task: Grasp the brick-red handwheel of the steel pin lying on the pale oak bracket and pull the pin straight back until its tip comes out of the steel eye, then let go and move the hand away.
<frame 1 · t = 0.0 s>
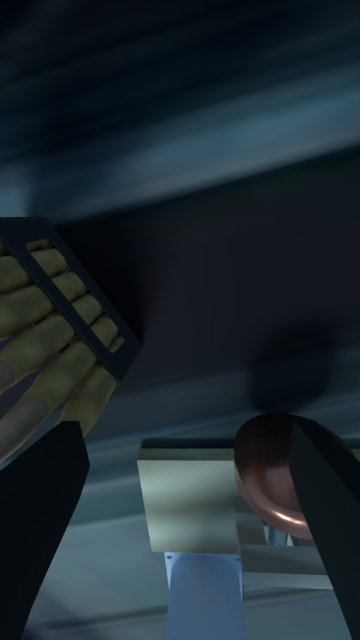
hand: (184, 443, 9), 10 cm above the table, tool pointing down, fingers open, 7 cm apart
eye bracket: (266, 491, 23), on the table
ammunition clip: (89, 292, 18), on the table, touching gripper
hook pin: (285, 518, 18), point 4 cm above the table, slide at 0.0 cm
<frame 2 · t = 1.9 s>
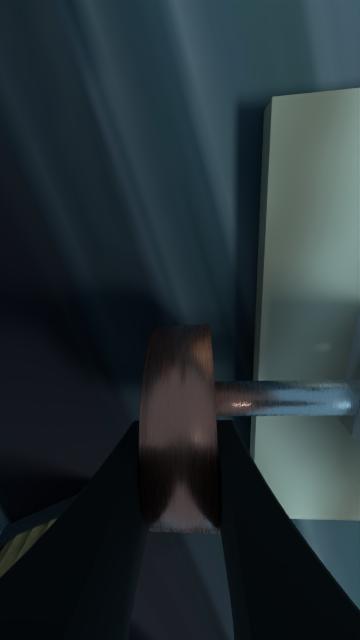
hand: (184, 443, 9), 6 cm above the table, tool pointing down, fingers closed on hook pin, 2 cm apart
eye bracket: (350, 355, 13), on the table
ammunition clip: (62, 509, 20), on the table
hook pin: (319, 414, 9), point 5 cm above the table, slide at 0.0 cm, touching gripper
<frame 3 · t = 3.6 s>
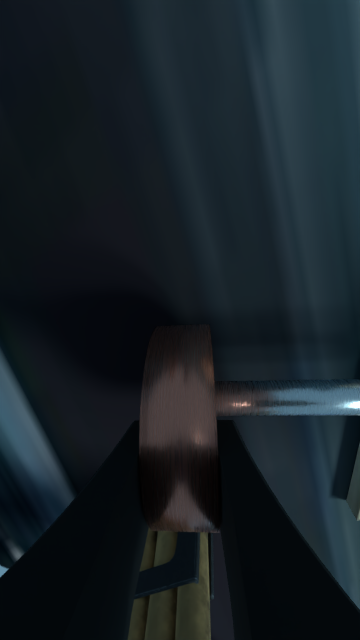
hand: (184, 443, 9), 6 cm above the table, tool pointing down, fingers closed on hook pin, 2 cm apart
ammunition clip: (144, 511, 19), on the table
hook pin: (319, 414, 9), point 5 cm above the table, slide at 6.5 cm, touching gripper
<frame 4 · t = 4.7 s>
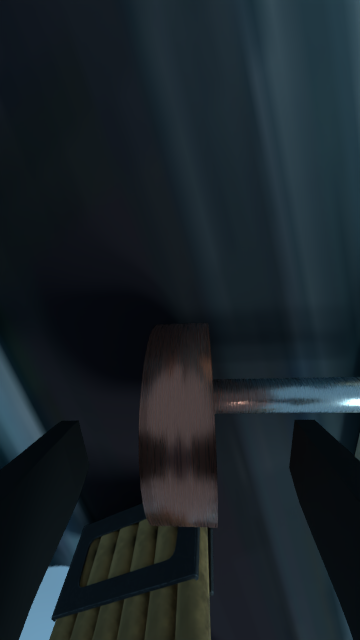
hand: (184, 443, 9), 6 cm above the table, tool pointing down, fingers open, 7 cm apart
ammunition clip: (144, 509, 19), on the table
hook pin: (317, 411, 10), point 4 cm above the table, slide at 6.5 cm
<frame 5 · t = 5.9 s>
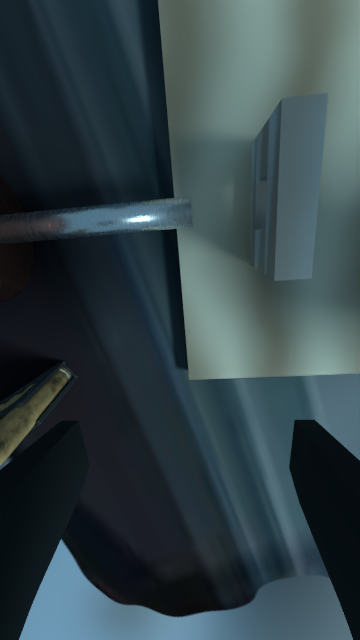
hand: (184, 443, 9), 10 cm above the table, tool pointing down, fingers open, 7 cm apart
eye bracket: (259, 209, 15), on the table
ammunition clip: (26, 396, 22), on the table
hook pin: (64, 222, 12), point 5 cm above the table, slide at 6.5 cm
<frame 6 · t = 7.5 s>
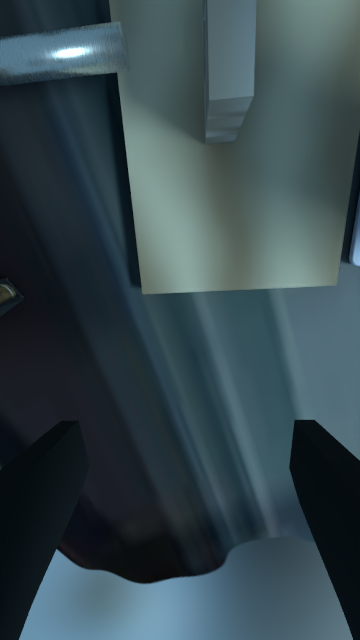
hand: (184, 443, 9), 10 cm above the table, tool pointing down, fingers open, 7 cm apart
eye bracket: (216, 81, 13), on the table
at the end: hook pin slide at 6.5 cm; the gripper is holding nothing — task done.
